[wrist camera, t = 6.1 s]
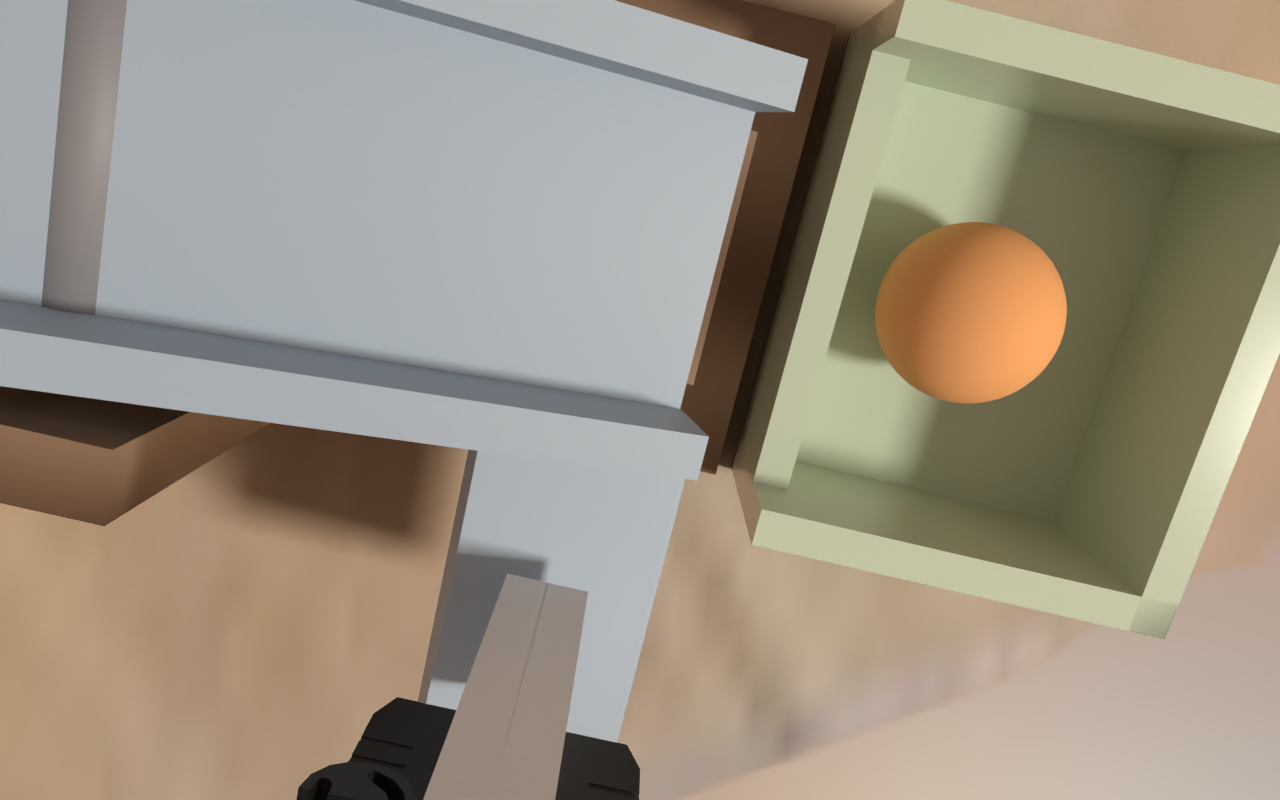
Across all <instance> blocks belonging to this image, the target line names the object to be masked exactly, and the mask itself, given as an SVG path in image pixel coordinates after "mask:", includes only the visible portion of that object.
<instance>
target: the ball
mask: <svg viewBox="0 0 1280 800" xmlns="http://www.w3.org/2000/svg"><path fill="white" fill-rule="evenodd" d="M1066 316H1067V302H1066V295H1065V291H1064V287H1063V283H1062V280H1061V278H1060V275H1059V273H1058V271H1057V270H1056V268H1055V266H1054V264H1053V262H1052V261H1051V260H1050V259H1049V257H1048V256H1047V255H1046V254H1045V253H1044V251H1043V250H1042V249H1041V248H1040V247H1038V246H1037V245H1036V244H1035V243H1034V242H1032V241H1031V240H1030V239H1029V238H1027V237H1025V236H1024V235H1022V234H1020V233H1018V232H1016V231H1014V230H1012V229H1009V228H1006V227H1003V226H1000V225H996V224H991V223H983V222H965V223H957V224H951V225H948V226H944V227H941V228H938V229H935V230H933V231H931V232H929V233H927V234H925V235H923V236H921V237H920V238H918V239H917V240H915V241H914V242H913V243H911V244H910V245H909V246H908V247H907V248H906V249H904V250H903V251H902V252H901V253H900V254H899V256H898V257H897V258H896V259H895V260H894V262H893V263H892V264H891V266H890V267H889V269H888V271H887V272H886V274H885V276H884V278H883V280H882V283H881V286H880V288H879V291H878V296H877V300H876V307H875V323H876V331H877V335H878V340H879V343H880V345H881V348H882V350H883V352H884V354H885V356H886V358H887V360H888V362H889V363H890V364H891V366H892V367H893V368H894V370H895V371H896V372H897V373H898V374H899V375H900V376H901V377H902V378H903V379H904V380H905V381H906V382H907V383H909V384H910V385H911V386H913V387H914V388H916V389H917V390H919V391H921V392H923V393H924V394H927V395H929V396H931V397H934V398H937V399H940V400H944V401H948V402H954V403H965V404H969V403H983V402H988V401H993V400H996V399H1000V398H1002V397H1005V396H1007V395H1010V394H1012V393H1014V392H1016V391H1018V390H1020V389H1021V388H1023V387H1024V386H1026V385H1027V384H1028V383H1030V382H1031V381H1033V380H1034V379H1035V378H1036V377H1037V376H1038V375H1039V374H1040V373H1041V372H1042V371H1043V370H1044V369H1045V368H1046V366H1047V365H1048V364H1049V362H1050V361H1051V360H1052V358H1053V356H1054V355H1055V353H1056V351H1057V349H1058V347H1059V345H1060V343H1061V340H1062V337H1063V334H1064V330H1065V325H1066Z"/></svg>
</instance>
